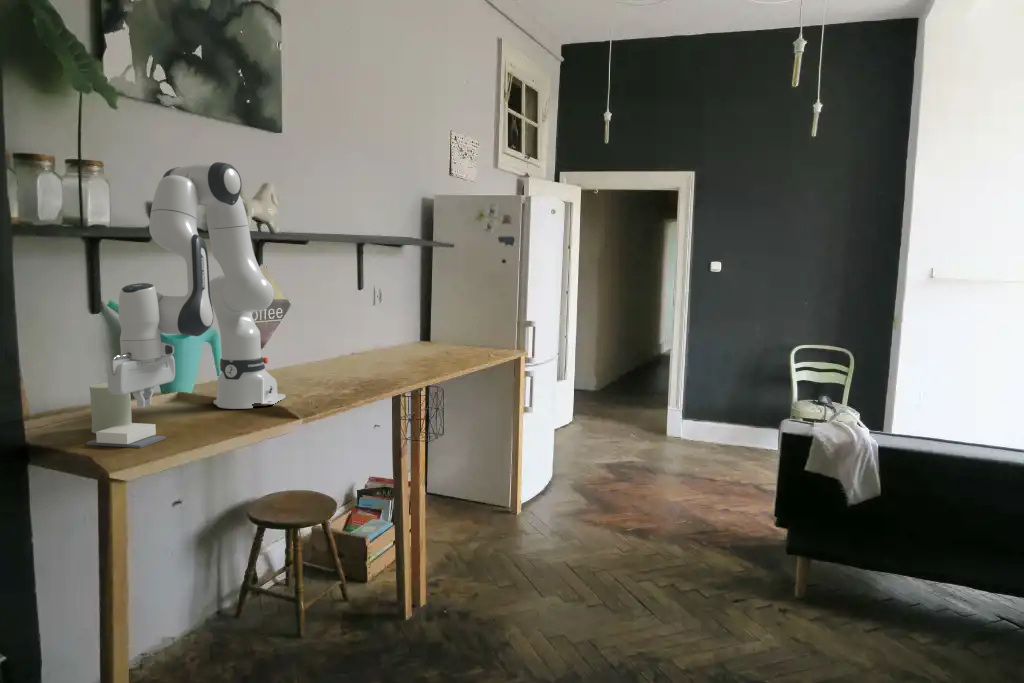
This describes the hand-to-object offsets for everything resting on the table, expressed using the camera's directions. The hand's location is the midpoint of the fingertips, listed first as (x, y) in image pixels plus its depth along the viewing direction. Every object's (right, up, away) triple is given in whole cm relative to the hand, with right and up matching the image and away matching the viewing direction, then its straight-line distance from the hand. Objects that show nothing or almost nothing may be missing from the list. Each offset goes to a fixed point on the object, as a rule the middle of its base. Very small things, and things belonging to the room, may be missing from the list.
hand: (144, 406), depth 178 cm
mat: (-1, -8, -5) cm, 10 cm away
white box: (0, -5, -1) cm, 5 cm away
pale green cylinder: (-11, -7, +6) cm, 15 cm away
